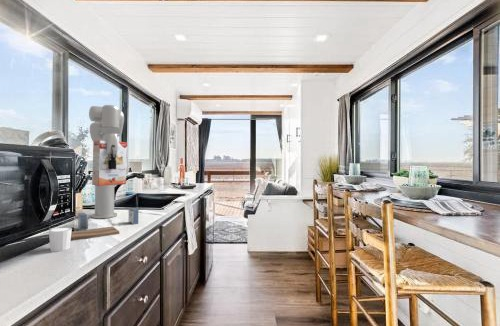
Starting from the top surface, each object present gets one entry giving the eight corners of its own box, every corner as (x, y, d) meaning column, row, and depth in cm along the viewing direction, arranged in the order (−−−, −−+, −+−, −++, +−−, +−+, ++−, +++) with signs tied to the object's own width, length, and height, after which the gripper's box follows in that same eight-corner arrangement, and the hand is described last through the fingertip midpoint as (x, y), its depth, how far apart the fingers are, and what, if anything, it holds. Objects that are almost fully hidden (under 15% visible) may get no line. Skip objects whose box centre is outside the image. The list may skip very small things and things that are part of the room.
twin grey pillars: (78, 228, 128) (78, 213, 128) (134, 221, 144) (134, 208, 144) (80, 231, 123) (80, 215, 123) (138, 223, 139) (138, 209, 139)
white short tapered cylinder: (74, 249, 99) (74, 229, 99) (50, 253, 94) (51, 233, 94) (68, 244, 104) (68, 226, 103) (46, 249, 99) (46, 229, 98)
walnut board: (66, 234, 117) (66, 232, 117) (112, 228, 129) (112, 226, 128) (70, 240, 109) (70, 238, 109) (119, 233, 120) (119, 231, 120)
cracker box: (99, 186, 126) (99, 140, 126) (91, 185, 129) (92, 140, 129) (126, 184, 138) (127, 142, 137) (119, 183, 141) (120, 142, 141)
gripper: (98, 132, 137) (97, 168, 138) (106, 129, 124) (105, 169, 124) (114, 133, 142) (114, 168, 142) (124, 131, 129) (123, 169, 129)
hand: (110, 168), depth 133 cm, fingers closed on cracker box, 7 cm apart
